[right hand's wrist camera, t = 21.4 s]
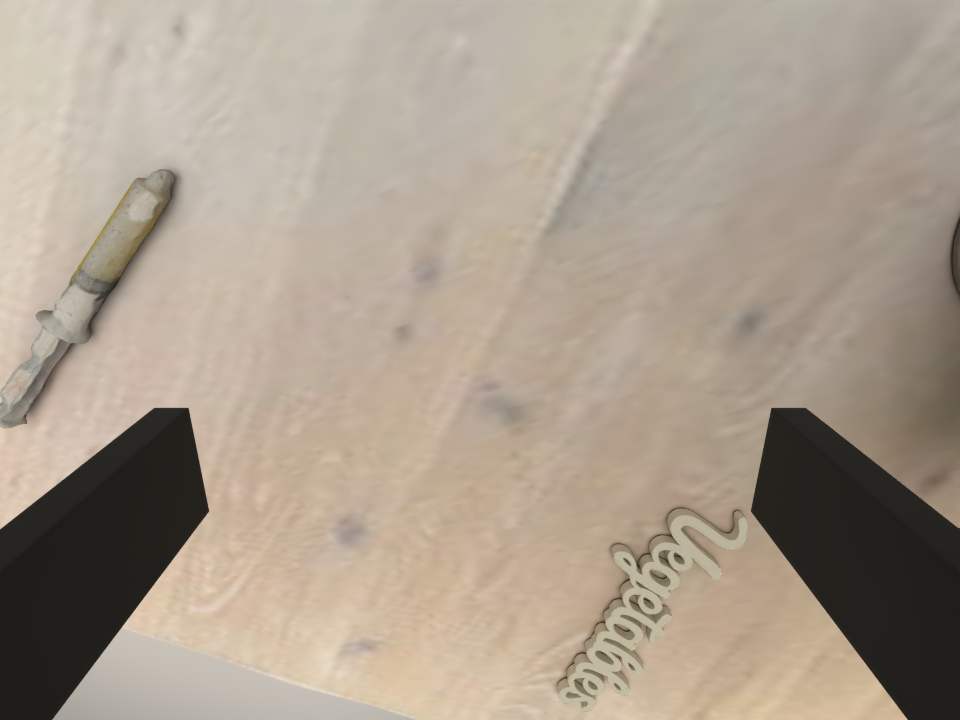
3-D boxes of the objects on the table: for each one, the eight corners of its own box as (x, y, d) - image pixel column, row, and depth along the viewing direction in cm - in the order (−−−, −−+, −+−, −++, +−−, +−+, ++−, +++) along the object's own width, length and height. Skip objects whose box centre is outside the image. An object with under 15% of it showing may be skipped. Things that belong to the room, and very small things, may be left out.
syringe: (158, 155, 39) (135, 155, 37) (203, 193, 40) (184, 196, 38) (-7, 391, 46) (-37, 405, 43) (34, 420, 47) (8, 435, 44)
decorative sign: (658, 484, 47) (759, 523, 49) (655, 477, 48) (754, 516, 50) (527, 692, 56) (615, 721, 57) (526, 684, 57) (613, 712, 58)
